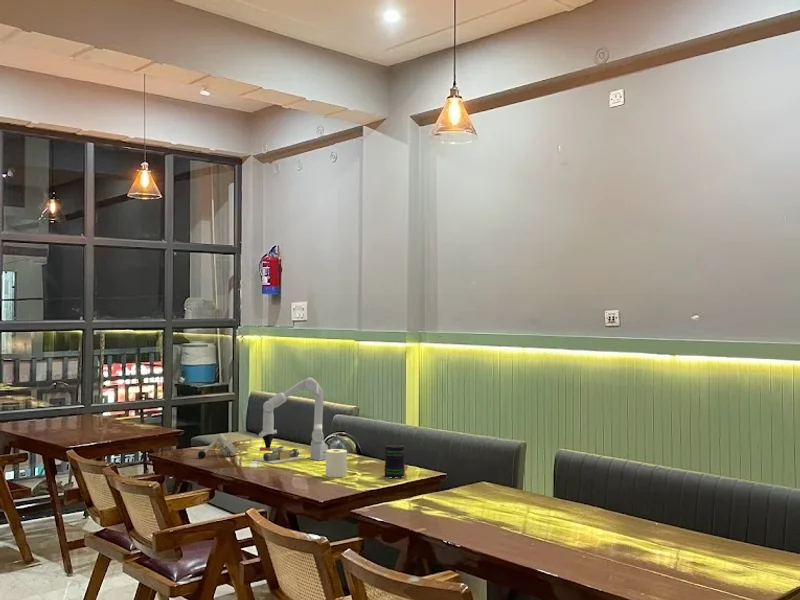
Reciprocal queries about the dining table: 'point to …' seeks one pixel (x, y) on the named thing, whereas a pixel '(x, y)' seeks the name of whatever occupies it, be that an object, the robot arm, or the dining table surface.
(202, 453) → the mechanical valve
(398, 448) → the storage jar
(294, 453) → the valve body
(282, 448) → the lever
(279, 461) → the mounting board
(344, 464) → the toilet paper
